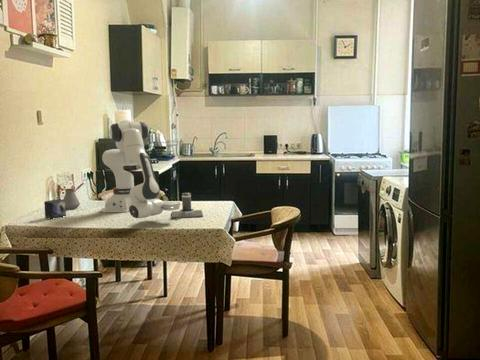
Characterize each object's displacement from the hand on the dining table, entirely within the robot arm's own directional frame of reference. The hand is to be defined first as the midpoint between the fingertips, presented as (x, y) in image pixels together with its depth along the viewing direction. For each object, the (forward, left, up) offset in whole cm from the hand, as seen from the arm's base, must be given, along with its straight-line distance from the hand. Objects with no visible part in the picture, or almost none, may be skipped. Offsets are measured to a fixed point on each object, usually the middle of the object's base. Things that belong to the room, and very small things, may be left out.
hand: (173, 202), depth 279 cm
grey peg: (+8, +8, -8) cm, 14 cm away
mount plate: (+8, +8, -9) cm, 14 cm away
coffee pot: (-65, +53, -9) cm, 85 cm away
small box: (-70, +20, -9) cm, 74 cm away
